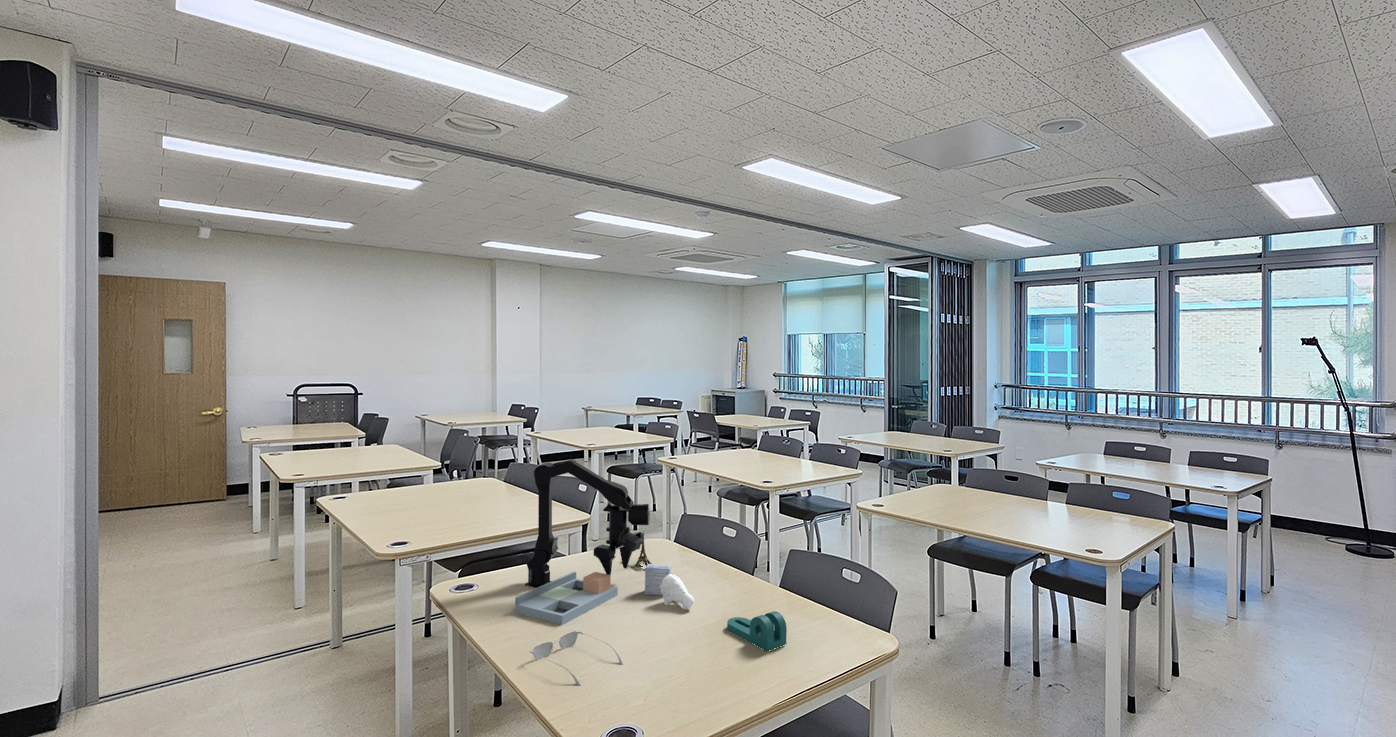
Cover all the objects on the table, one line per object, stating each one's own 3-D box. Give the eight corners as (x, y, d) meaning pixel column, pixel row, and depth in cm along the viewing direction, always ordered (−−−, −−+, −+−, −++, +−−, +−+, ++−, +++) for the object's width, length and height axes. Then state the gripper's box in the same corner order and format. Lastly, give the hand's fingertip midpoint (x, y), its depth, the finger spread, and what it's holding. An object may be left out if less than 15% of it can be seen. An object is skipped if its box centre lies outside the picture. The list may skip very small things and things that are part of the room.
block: (583, 590, 194) (583, 577, 195) (594, 584, 200) (595, 571, 200) (598, 593, 192) (599, 580, 192) (610, 587, 197) (610, 574, 197)
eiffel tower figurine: (618, 563, 231) (619, 527, 231) (641, 559, 237) (642, 523, 237) (640, 574, 219) (641, 536, 219) (664, 569, 225) (665, 532, 225)
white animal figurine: (674, 570, 196) (701, 583, 187) (672, 596, 196) (699, 611, 188) (659, 574, 191) (685, 588, 183) (656, 601, 192) (683, 616, 183)
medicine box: (671, 591, 202) (671, 564, 202) (669, 596, 197) (669, 568, 197) (647, 590, 203) (647, 563, 203) (644, 595, 198) (644, 567, 198)
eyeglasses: (578, 643, 164) (579, 628, 164) (627, 665, 152) (627, 648, 152) (529, 664, 152) (529, 648, 152) (577, 689, 140) (577, 671, 140)
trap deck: (515, 612, 182) (515, 597, 182) (573, 585, 206) (573, 571, 206) (562, 624, 174) (562, 608, 174) (617, 595, 198) (617, 580, 198)
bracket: (786, 646, 163) (786, 615, 163) (767, 652, 159) (767, 621, 159) (740, 623, 178) (740, 595, 178) (722, 629, 174) (722, 600, 174)
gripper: (621, 534, 193) (621, 584, 193) (653, 521, 210) (653, 568, 210) (592, 529, 199) (592, 578, 199) (626, 517, 215) (625, 563, 215)
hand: (617, 572), depth 205 cm, fingers open, 9 cm apart
